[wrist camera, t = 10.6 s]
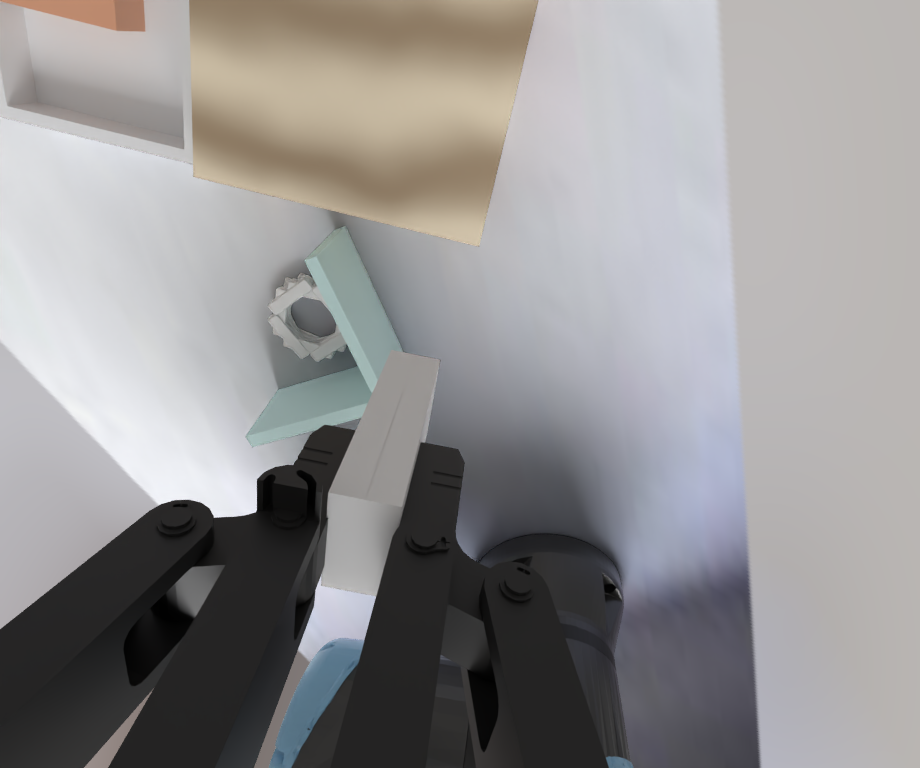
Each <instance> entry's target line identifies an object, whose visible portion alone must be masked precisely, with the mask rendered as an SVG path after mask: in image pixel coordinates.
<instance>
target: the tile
mask: <svg viewBox="0 0 920 768" xmlns="http://www.w3.org/2000/svg"><path fill="white" fill-rule="evenodd" d="M0 1H1V2H5V3H9V4H13V5H17V6H21V7H25V8H28V9H32V10H36V11H40V12H44V13H48V14H52V15H56V16H60V17H64V18H68V19H72V20H76V21H80V22H84V23H88V24H91V25H95V26H99V27H103V28H107V29H111V30H115V31H139V32H145V15H144V0H0Z"/></svg>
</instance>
